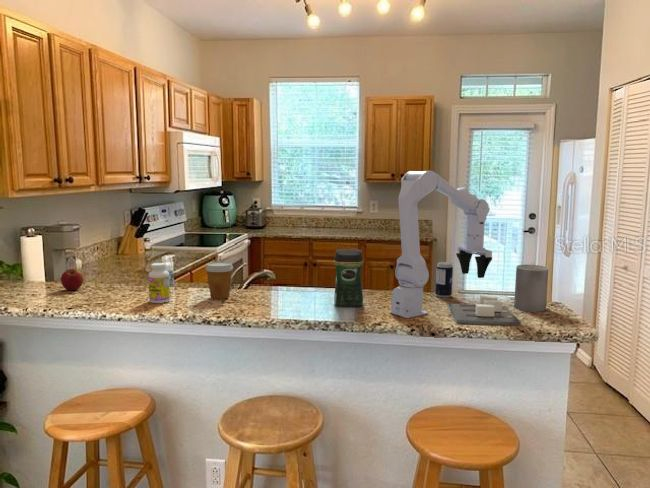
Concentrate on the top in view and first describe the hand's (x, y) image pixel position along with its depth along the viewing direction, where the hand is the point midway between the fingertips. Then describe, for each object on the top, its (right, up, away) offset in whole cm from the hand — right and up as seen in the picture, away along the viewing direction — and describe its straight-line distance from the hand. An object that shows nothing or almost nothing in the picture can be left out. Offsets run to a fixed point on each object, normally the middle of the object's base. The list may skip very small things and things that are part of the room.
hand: (472, 275), depth 164 cm
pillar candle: (+17, -11, -4) cm, 21 cm away
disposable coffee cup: (-86, -8, +7) cm, 87 cm away
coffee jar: (-42, -10, -1) cm, 43 cm away
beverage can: (-7, -8, +12) cm, 16 cm away
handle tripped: (-2, -11, -17) cm, 20 cm away
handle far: (+3, -9, -6) cm, 11 cm away
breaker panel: (-1, -11, -13) cm, 17 cm away
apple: (-143, -7, +17) cm, 144 cm away
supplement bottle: (-105, -9, +2) cm, 106 cm away
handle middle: (+3, -10, -12) cm, 16 cm away
